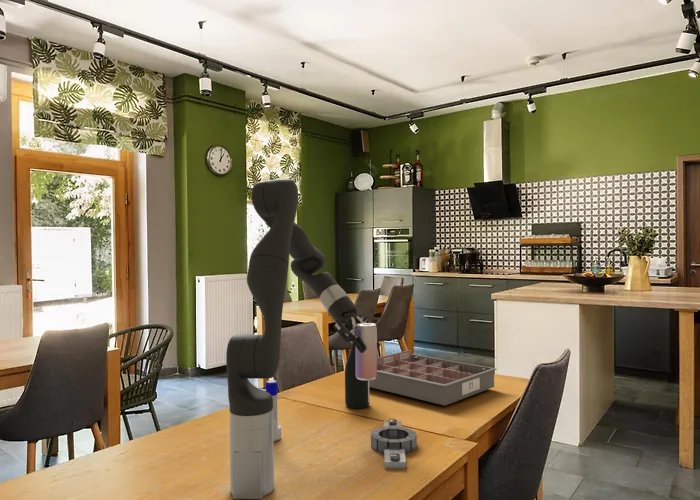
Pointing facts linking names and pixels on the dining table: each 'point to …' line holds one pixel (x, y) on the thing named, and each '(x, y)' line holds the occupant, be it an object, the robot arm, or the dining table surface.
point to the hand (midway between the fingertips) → (371, 349)
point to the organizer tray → (430, 377)
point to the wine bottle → (355, 384)
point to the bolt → (274, 408)
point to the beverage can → (367, 352)
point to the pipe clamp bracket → (394, 443)
